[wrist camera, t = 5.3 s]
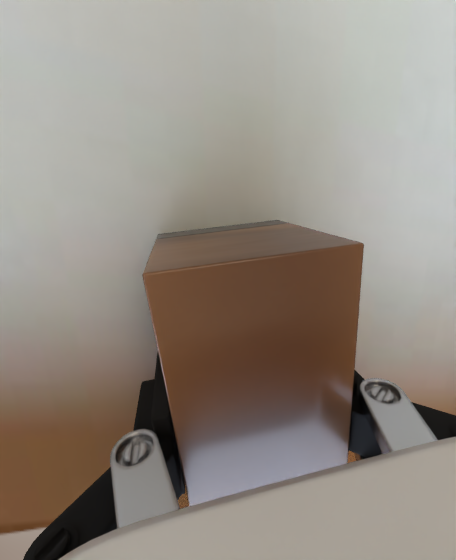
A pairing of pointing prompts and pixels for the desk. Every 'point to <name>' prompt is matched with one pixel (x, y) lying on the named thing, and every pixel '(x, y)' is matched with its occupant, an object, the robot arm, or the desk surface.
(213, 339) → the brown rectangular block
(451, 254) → the desk surface
